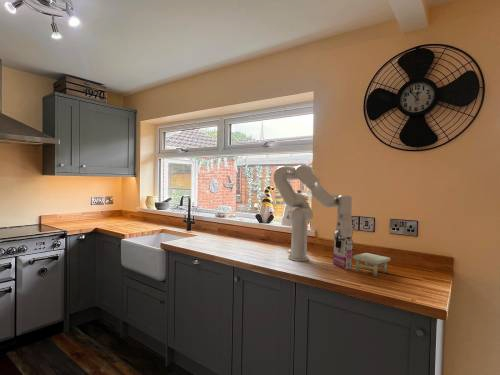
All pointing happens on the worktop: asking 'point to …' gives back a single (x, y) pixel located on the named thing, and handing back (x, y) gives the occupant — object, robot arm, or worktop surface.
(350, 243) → the candy bar box
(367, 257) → the step stool
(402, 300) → the worktop surface
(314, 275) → the worktop surface
